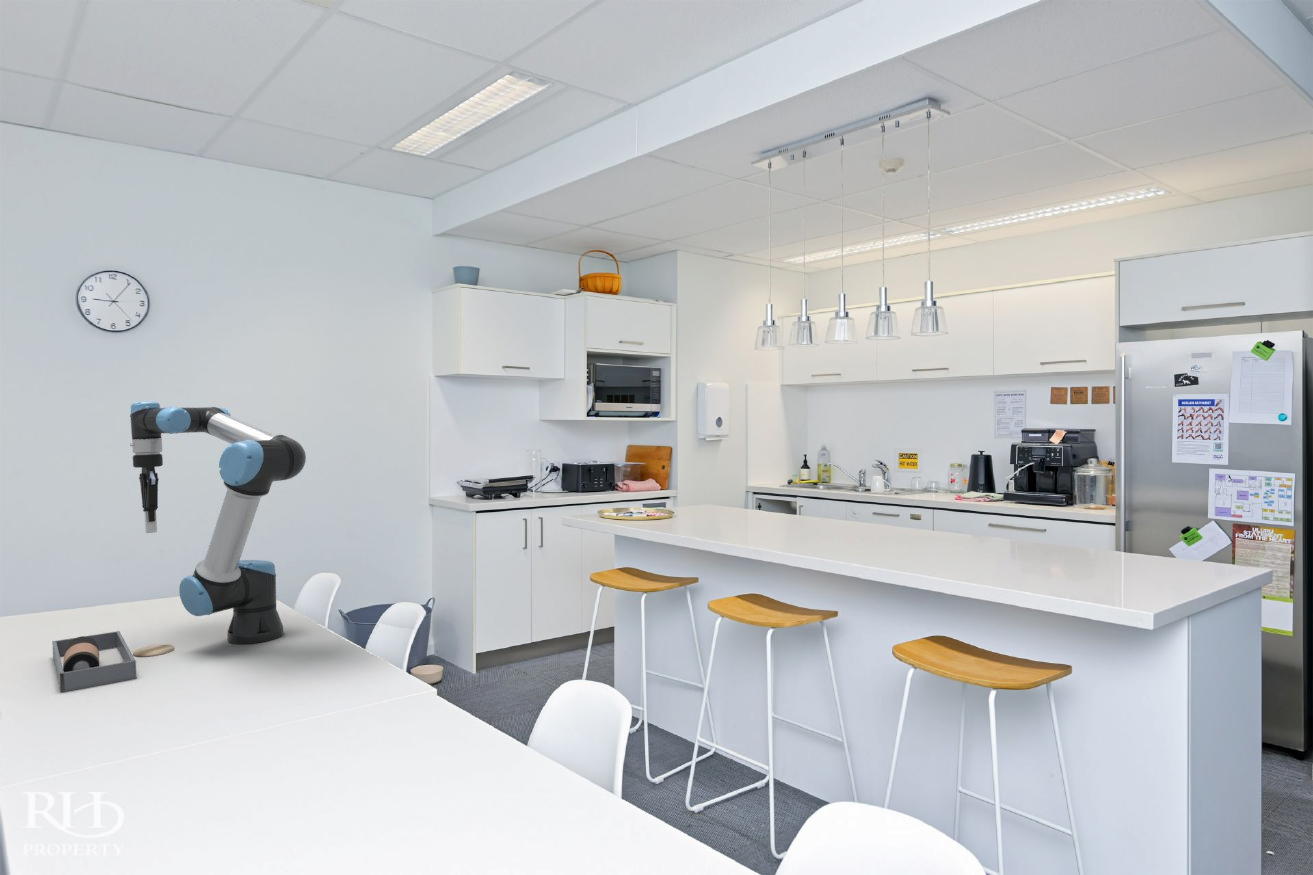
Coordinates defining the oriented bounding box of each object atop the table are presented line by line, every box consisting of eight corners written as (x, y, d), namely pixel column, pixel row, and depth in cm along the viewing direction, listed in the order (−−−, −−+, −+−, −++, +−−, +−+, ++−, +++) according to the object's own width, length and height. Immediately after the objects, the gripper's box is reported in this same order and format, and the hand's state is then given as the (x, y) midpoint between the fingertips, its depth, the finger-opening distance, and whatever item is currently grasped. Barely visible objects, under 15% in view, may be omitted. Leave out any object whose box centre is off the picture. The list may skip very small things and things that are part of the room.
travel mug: (89, 666, 220) (89, 688, 204) (58, 657, 216) (55, 678, 200) (105, 640, 222) (106, 659, 206) (74, 630, 218) (73, 649, 202)
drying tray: (53, 657, 225) (52, 641, 225) (119, 646, 235) (119, 630, 235) (60, 692, 196) (59, 673, 196) (136, 678, 206) (135, 660, 206)
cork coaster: (181, 646, 234) (181, 644, 234) (160, 656, 224) (160, 655, 224) (147, 646, 234) (147, 644, 234) (124, 657, 224) (124, 655, 224)
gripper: (128, 454, 243) (131, 532, 244) (137, 454, 233) (141, 536, 234) (156, 452, 248) (160, 529, 249) (167, 453, 239) (170, 532, 239)
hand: (151, 532), depth 241 cm, fingers closed
